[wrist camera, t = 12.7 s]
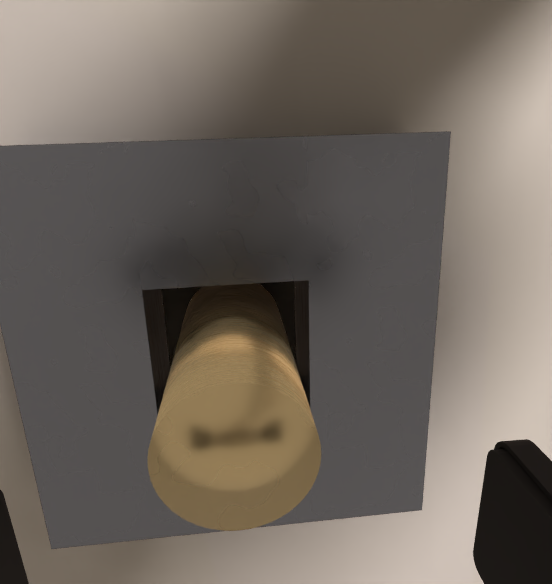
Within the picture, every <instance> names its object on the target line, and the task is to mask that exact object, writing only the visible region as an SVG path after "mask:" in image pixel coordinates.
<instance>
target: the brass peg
mask: <svg viewBox="0 0 552 584" xmlns="http://www.w3.org/2000/svg"><path fill="white" fill-rule="evenodd" d="M320 463H321V444H320V440H319V435H318V432H317V429H316V426H315V423H314V419H313V416H312V413H311V410H310V407H309V404H308V401H307V398H306V394H305V391H304V388H303V385H302V382H301V379H300V376H299V372H298V369H297V366H296V363H295V360H294V357H293V354H292V351H291V347H290V344H289V341H288V338H287V335H286V332H285V329H284V325H283V322H282V319H281V316H280V313H279V310H278V307H277V304H276V302H275V300H274V298H273V297H272V295H271V294H270V293H269V292H268V291H267V290H266V289H265V288H264V287H263V286H261V285H260V284H258V283H253V284H236V285H219V286H203V287H201V288H200V289H199V290H198V291H197V292H196V293H195V294H194V296H193V297H192V299H191V300H190V302H189V304H188V307H187V310H186V313H185V317H184V321H183V324H182V328H181V332H180V335H179V339H178V343H177V346H176V350H175V354H174V357H173V361H172V365H171V368H170V372H169V376H168V379H167V383H166V387H165V390H164V394H163V398H162V401H161V405H160V409H159V412H158V416H157V420H156V423H155V427H154V431H153V434H152V438H151V442H150V445H149V449H148V471H149V476H150V480H151V482H152V485H153V487H154V489H155V491H156V493H157V494H158V496H159V497H160V499H161V500H162V501H163V503H164V504H165V505H166V506H167V507H168V508H169V509H170V510H172V511H173V512H174V513H176V514H177V515H178V516H180V517H181V518H183V519H185V520H187V521H189V522H191V523H193V524H196V525H198V526H202V527H205V528H209V529H215V530H225V531H235V530H245V529H251V528H255V527H259V526H262V525H265V524H268V523H270V522H273V521H275V520H277V519H278V518H280V517H282V516H284V515H285V514H287V513H288V512H290V511H291V510H292V509H293V508H295V507H296V506H297V505H298V504H299V503H300V502H301V501H302V500H303V499H304V498H305V496H306V495H307V494H308V492H309V491H310V489H311V488H312V486H313V484H314V482H315V480H316V477H317V475H318V472H319V468H320Z"/></svg>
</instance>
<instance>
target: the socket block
mask: <svg viewBox="0 0 552 584" xmlns="http://www.w3.org/2000/svg"><path fill="white" fill-rule="evenodd" d="M450 134H451V132H421V133H389V134H358V135H327V136H295V137H264V138H233V139H201V140H170V141H139V142H107V143H76V144H45V145H13V146H0V325H1V329H2V334H3V338H4V343H5V347H6V351H7V356H8V360H9V364H10V369H11V373H12V378H13V382H14V386H15V391H16V395H17V400H18V404H19V408H20V413H21V417H22V421H23V426H24V430H25V435H26V439H27V443H28V448H29V452H30V456H31V461H32V465H33V470H34V474H35V478H36V483H37V487H38V492H39V496H40V500H41V505H42V509H43V513H44V518H45V522H46V527H47V531H48V535H49V540H50V544H51V548H52V549H57V548H66V547H76V546H85V545H95V544H104V543H114V542H123V541H133V540H142V539H152V538H161V537H171V536H180V535H190V534H199V533H209V532H218V531H225V530H215V529H209V528H205V527H202V526H198V525H196V524H193V523H191V522H189V521H187V520H185V519H183V518H181V517H180V516H178V515H177V514H176V513H174V512H173V511H172V510H170V509H169V508H168V507H167V506H166V505H165V504H164V503H163V501H162V500H161V499H160V497H159V496H158V494H157V493H156V491H155V489H154V487H153V485H152V482H151V480H150V476H149V471H148V449H149V445H150V442H151V438H152V434H153V431H154V427H155V423H156V420H157V416H158V412H159V409H160V405H161V401H162V398H163V394H164V390H165V387H166V383H167V379H168V376H169V372H170V361H169V352H168V343H167V334H166V325H165V317H164V308H163V299H162V290H161V289H168V288H185V287H202V286H219V285H236V284H253V283H270V282H286V281H294V290H295V335H296V366H297V369H298V372H299V376H300V379H301V382H302V385H303V388H304V391H305V394H306V398H307V401H308V404H309V407H310V410H311V413H312V416H313V419H314V423H315V426H316V429H317V432H318V435H319V440H320V444H321V463H320V468H319V472H318V475H317V477H316V480H315V482H314V484H313V486H312V488H311V489H310V491H309V492H308V494H307V495H306V496H305V498H304V499H303V500H302V501H301V502H300V503H299V504H298V505H297V506H296V507H295V508H293V509H292V510H291V511H290V512H288V513H287V514H285V515H284V516H282V517H280V518H278V519H277V520H275V521H273V522H270V523H268V524H265V525H262V526H259V527H266V526H275V525H285V524H294V523H304V522H313V521H323V520H332V519H342V518H351V517H361V516H370V515H380V514H389V513H399V512H408V511H418V510H422V502H423V489H424V476H425V463H426V450H427V436H428V423H429V410H430V397H431V384H432V371H433V358H434V345H435V331H436V318H437V305H438V292H439V279H440V266H441V253H442V239H443V226H444V213H445V200H446V187H447V174H448V161H449V147H450ZM255 528H256V527H255Z"/></svg>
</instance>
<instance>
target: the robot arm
mask: <svg viewBox="0 0 552 584" xmlns="http://www.w3.org/2000/svg"><path fill="white" fill-rule="evenodd" d="M473 556H474V562H475V566H476V568H477V571H478V573H479V575H480V577H481V579H482V580H483V582H484V584H552V461H551V460H550V459H549V458H548V457H547V456H546V455H545V454H544V453H543V452H542V451H541V450H540V449H539V448H538V447H537V446H536V445H535V444H534V443H533V442H532V441H530V440H527V439H526V440H513V441H501V442H498V443H497V444H496V445H495V448H494V450H490V451H489V452H488V455H487V461H486V468H485V474H484V481H483V488H482V495H481V502H480V509H479V515H478V522H477V529H476V536H475V543H474V550H473ZM0 584H29V583H28V579H27V576H26V572H25V569H24V565H23V562H22V558H21V555H20V551H19V548H18V544H17V541H16V537H15V534H14V530H13V526H12V523H11V519H10V516H9V512H8V509H7V505H6V502H5V498H4V495H3V493H2V491H1V490H0Z"/></svg>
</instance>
